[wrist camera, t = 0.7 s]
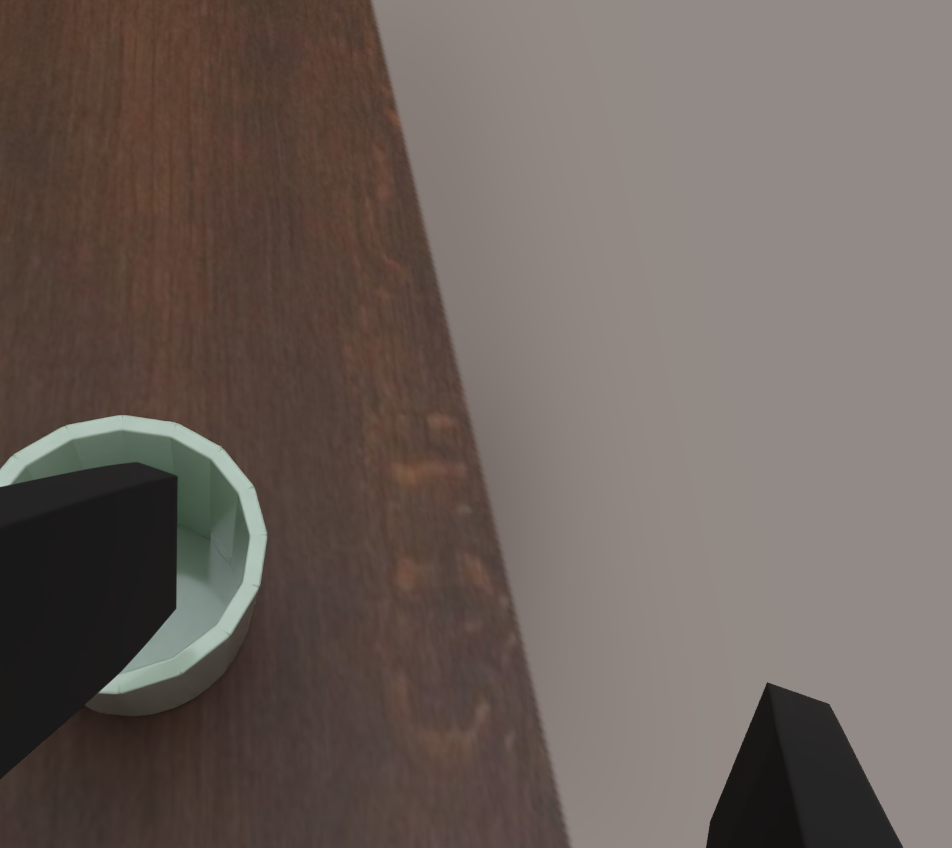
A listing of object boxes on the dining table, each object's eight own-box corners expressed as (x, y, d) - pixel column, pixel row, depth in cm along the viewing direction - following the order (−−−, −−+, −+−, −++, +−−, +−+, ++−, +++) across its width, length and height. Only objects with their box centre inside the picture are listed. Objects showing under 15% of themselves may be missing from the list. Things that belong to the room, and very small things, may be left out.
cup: (115, 763, 22) (70, 760, 15) (-9, 597, 23) (-106, 520, 16) (289, 623, 25) (319, 566, 18) (174, 479, 26) (161, 370, 19)
